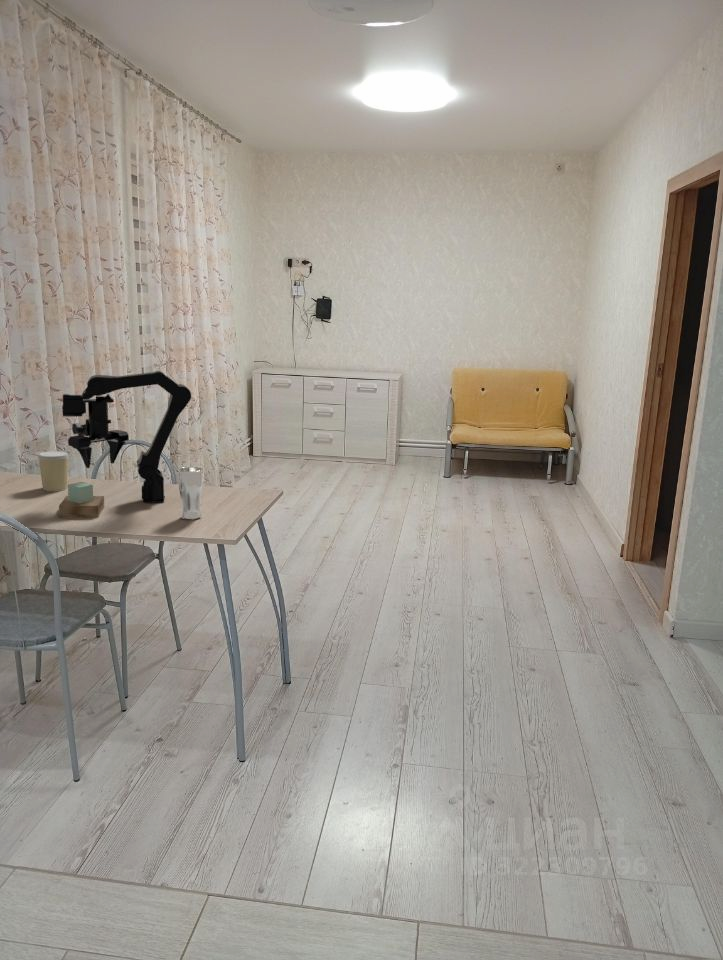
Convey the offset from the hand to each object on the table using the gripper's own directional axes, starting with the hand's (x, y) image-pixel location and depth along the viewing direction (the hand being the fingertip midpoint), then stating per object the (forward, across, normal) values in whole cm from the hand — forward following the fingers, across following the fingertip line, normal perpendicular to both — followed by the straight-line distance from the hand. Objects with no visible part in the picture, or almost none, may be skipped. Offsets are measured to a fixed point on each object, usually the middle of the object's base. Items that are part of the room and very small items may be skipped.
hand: (100, 465), depth 236 cm
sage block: (+8, +11, +4) cm, 14 cm away
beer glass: (+12, -7, +32) cm, 35 cm away
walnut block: (+12, +10, +4) cm, 17 cm away
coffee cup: (+12, -1, -25) cm, 28 cm away
